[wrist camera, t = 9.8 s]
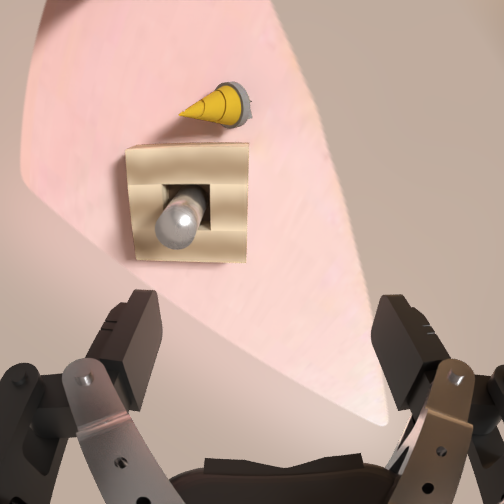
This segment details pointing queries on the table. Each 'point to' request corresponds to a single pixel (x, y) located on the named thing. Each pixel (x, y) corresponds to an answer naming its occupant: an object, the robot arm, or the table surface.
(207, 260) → the socket block
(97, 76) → the table surface
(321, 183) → the table surface
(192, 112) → the drill bit
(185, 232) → the pin
